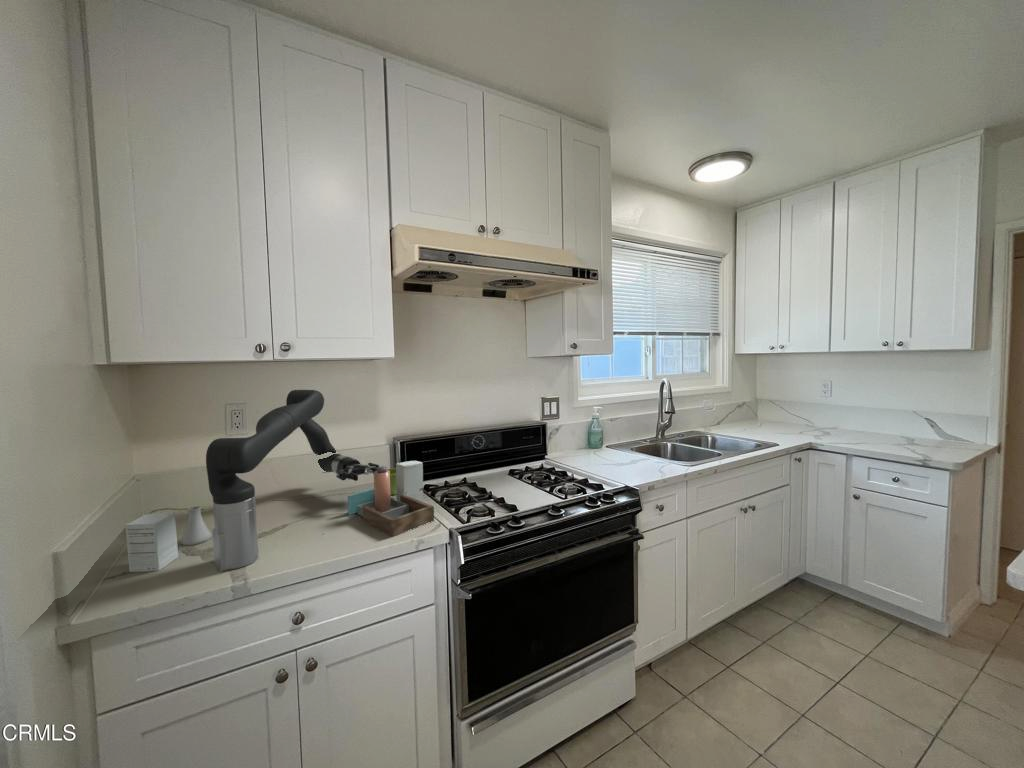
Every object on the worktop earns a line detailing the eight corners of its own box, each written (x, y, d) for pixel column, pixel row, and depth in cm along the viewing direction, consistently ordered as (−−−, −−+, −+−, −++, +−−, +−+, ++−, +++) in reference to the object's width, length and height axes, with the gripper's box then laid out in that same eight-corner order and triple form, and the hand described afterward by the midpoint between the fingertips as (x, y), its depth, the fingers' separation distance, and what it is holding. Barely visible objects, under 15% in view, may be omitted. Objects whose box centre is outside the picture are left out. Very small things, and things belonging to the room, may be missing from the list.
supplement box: (150, 558, 114) (147, 513, 113) (179, 557, 115) (176, 512, 114) (127, 572, 107) (123, 524, 106) (158, 571, 107) (154, 523, 106)
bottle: (380, 514, 140) (379, 470, 139) (372, 511, 143) (370, 467, 142) (393, 510, 144) (392, 467, 143) (385, 506, 147) (384, 464, 146)
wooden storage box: (393, 536, 126) (392, 520, 126) (363, 521, 138) (362, 506, 137) (434, 521, 138) (433, 506, 137) (403, 508, 149) (403, 494, 149)
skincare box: (403, 507, 150) (402, 466, 149) (395, 502, 155) (394, 463, 154) (424, 501, 156) (423, 462, 155) (416, 497, 160) (415, 459, 159)
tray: (372, 526, 133) (371, 506, 133) (348, 514, 143) (347, 495, 143) (414, 511, 145) (413, 493, 145) (389, 501, 155) (389, 484, 155)
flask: (195, 547, 121) (193, 513, 120) (174, 545, 122) (172, 511, 121) (217, 536, 128) (215, 504, 127) (197, 534, 129) (195, 502, 128)
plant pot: (373, 496, 162) (373, 474, 161) (386, 488, 171) (386, 467, 170) (395, 498, 160) (395, 475, 159) (407, 490, 169) (407, 468, 168)
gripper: (327, 460, 154) (348, 469, 143) (363, 453, 165) (385, 460, 154) (327, 480, 155) (349, 490, 144) (363, 472, 165) (386, 480, 154)
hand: (368, 475), depth 149 cm, fingers open, 8 cm apart
